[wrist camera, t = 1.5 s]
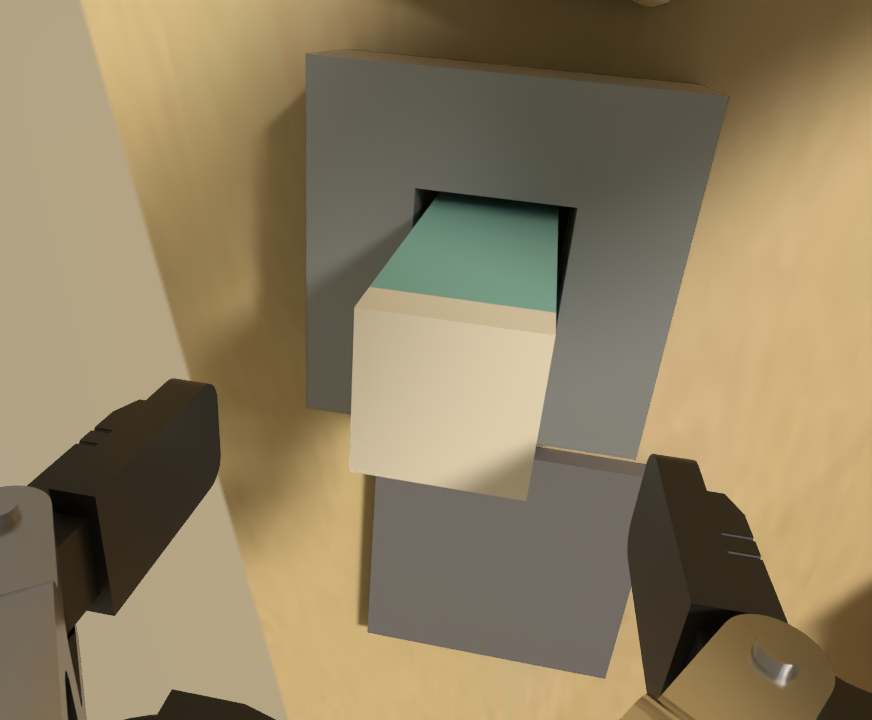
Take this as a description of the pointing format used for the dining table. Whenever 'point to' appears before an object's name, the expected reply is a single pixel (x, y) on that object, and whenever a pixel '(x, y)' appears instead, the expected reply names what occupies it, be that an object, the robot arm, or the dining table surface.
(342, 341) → the grey square socket block
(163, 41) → the dining table surface
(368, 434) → the plug
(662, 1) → the electrical outlet
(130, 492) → the robot arm
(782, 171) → the dining table surface
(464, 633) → the mat
